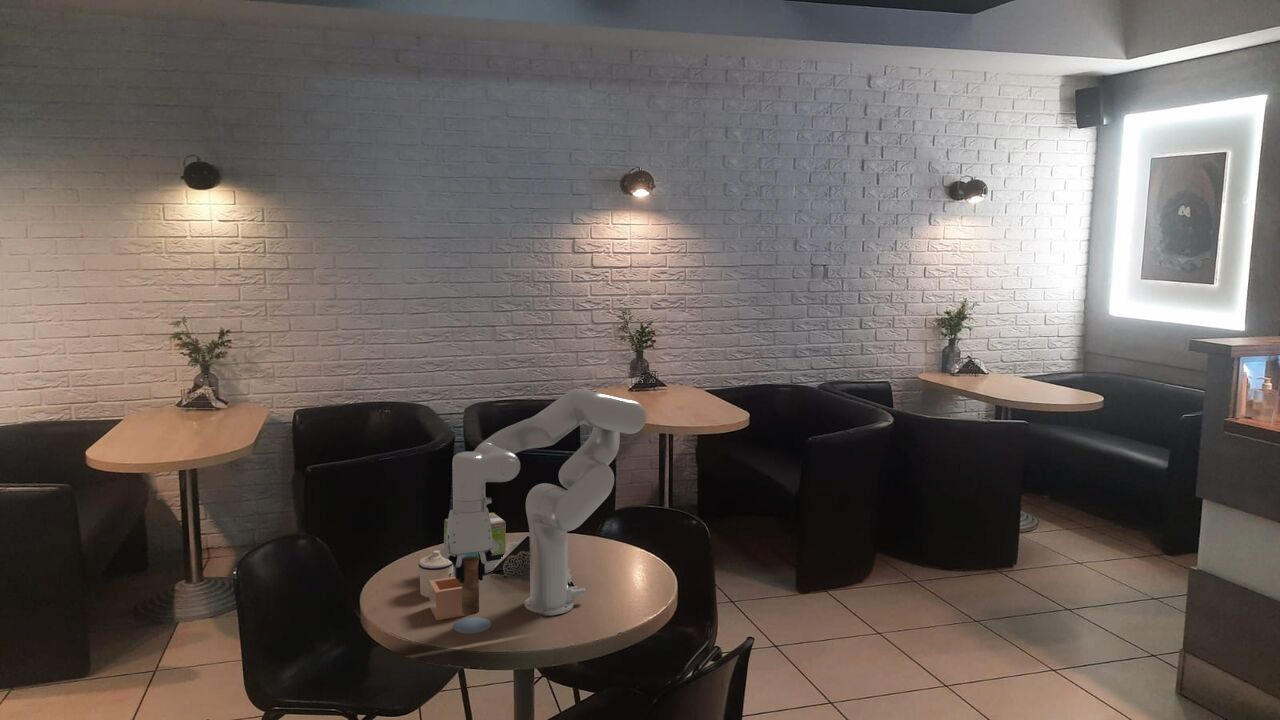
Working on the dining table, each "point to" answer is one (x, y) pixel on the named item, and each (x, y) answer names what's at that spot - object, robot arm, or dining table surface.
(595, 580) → the dining table surface
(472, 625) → the slate coaster
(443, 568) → the teacup with lid
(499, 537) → the tea box
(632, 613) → the dining table surface
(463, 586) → the walnut pin
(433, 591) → the terracotta cup
